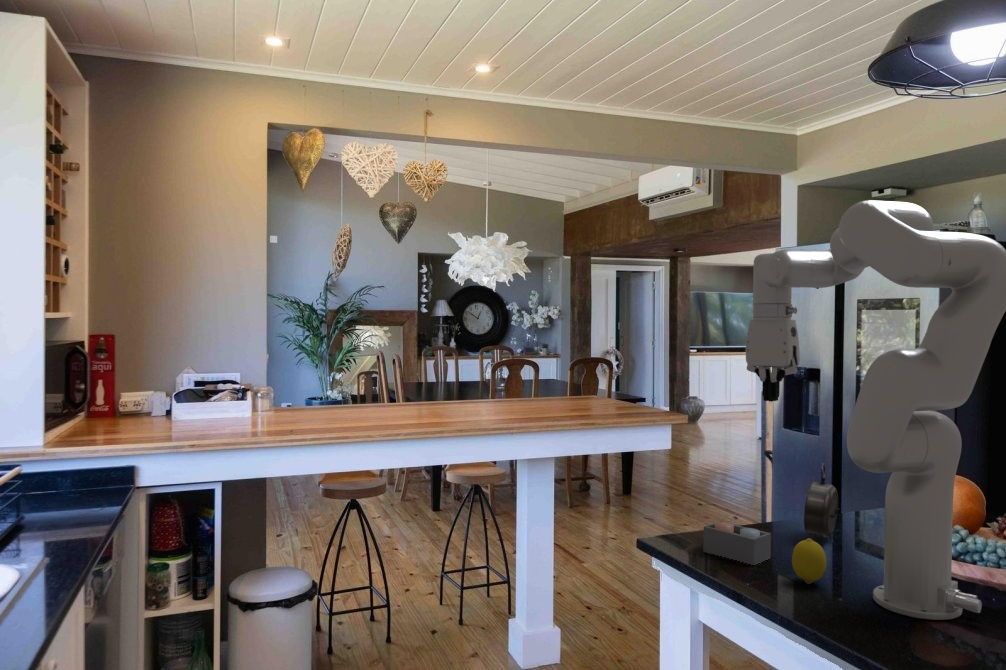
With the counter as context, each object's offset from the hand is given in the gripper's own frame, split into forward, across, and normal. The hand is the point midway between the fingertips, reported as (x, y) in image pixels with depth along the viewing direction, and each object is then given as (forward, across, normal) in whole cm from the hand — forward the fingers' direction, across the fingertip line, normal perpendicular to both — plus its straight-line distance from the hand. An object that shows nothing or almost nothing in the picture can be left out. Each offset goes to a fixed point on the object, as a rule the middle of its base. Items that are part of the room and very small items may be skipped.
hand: (770, 400), depth 153 cm
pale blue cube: (+28, -4, +15) cm, 32 cm away
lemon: (+29, -18, +19) cm, 39 cm away
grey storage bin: (+29, -2, +15) cm, 33 cm away
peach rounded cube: (+28, +1, +15) cm, 31 cm away
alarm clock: (+29, -8, -7) cm, 31 cm away
